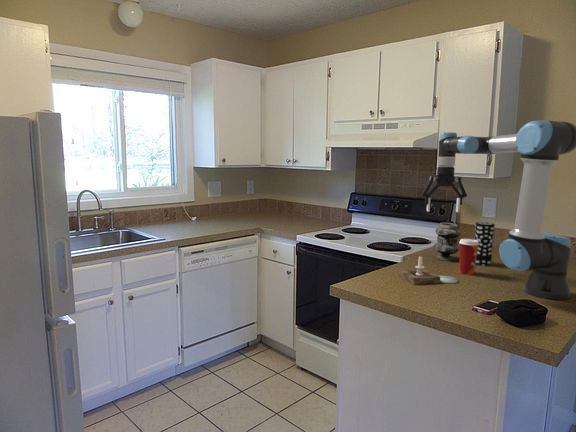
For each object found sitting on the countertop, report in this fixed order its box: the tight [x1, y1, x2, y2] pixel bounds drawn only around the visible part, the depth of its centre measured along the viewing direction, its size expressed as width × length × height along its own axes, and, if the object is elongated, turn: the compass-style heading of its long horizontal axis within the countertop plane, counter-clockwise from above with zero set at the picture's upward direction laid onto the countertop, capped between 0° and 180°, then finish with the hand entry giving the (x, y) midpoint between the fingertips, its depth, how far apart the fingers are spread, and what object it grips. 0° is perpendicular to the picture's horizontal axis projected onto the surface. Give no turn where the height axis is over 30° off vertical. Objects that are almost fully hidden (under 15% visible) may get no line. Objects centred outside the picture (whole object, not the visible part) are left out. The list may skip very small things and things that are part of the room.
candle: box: [415, 255, 425, 276], centre depth 175 cm, size 5×5×10 cm
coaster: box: [438, 275, 459, 284], centre depth 176 cm, size 9×9×1 cm
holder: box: [399, 268, 441, 285], centre depth 176 cm, size 12×12×2 cm
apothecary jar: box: [433, 222, 461, 262], centre depth 211 cm, size 12×12×18 cm
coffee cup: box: [458, 238, 479, 275], centre depth 186 cm, size 8×8×15 cm
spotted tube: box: [473, 221, 496, 267], centre depth 202 cm, size 8×8×20 cm
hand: (442, 211), depth 196 cm, fingers open, 13 cm apart
